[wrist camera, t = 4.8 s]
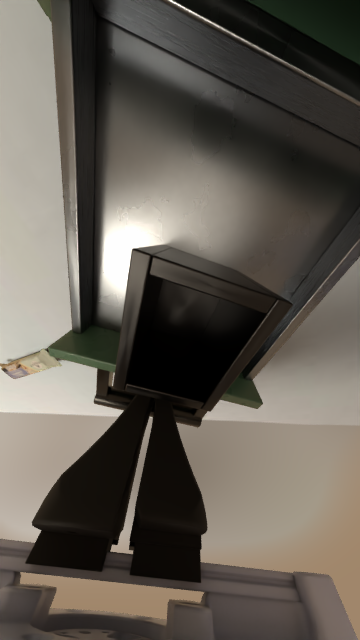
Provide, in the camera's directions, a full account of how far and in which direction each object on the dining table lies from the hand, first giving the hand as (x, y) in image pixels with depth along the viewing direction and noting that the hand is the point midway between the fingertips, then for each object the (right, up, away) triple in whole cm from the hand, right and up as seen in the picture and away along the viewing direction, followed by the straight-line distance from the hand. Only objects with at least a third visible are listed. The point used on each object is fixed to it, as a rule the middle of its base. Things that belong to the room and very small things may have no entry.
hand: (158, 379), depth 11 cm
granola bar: (-13, +1, +4) cm, 14 cm away
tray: (+2, +6, -1) cm, 7 cm away
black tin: (+2, +6, -2) cm, 7 cm away
